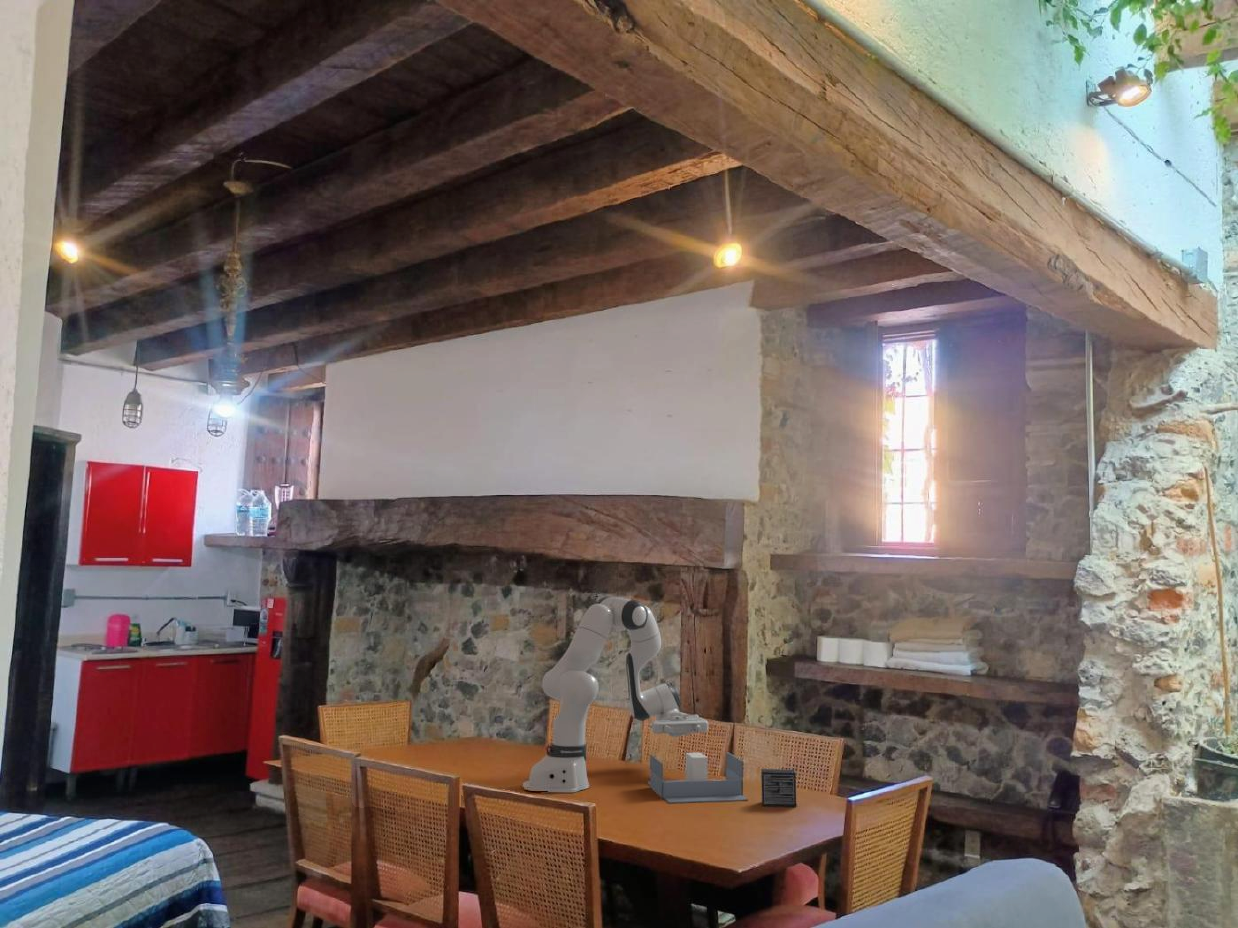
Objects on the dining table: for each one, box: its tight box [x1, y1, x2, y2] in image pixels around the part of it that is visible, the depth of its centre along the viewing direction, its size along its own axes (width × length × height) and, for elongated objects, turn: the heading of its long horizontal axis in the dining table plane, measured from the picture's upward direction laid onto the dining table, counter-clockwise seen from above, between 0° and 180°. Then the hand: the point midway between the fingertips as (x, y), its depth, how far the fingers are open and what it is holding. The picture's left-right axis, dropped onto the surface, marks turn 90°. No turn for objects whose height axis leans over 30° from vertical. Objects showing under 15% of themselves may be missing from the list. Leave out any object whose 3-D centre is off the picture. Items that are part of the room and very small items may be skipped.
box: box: [685, 752, 709, 781], centre depth 320 cm, size 5×9×12 cm, turn 11°
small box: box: [760, 768, 798, 808], centre depth 303 cm, size 11×6×10 cm, turn 84°
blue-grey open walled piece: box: [646, 751, 749, 804], centre depth 322 cm, size 28×32×11 cm
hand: (684, 729), depth 337 cm, fingers open, 8 cm apart
